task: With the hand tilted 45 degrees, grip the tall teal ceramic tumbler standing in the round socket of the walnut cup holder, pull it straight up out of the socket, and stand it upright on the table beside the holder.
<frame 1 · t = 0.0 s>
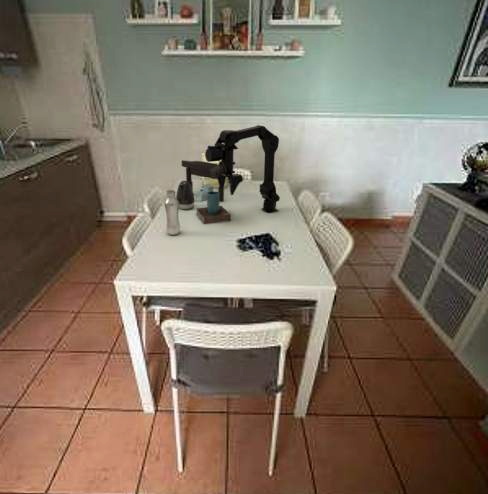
hand: (226, 192, 159), 15 cm above the table, tool pointing down, fingers open, 9 cm apart
plastic bottle: (173, 233, 151), on the table
black rounded dome: (185, 208, 181), on the table
stool: (204, 198, 196), on the table
tumbler: (213, 205, 166), in the holder
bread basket: (215, 184, 222), on the table
holder: (213, 217, 169), on the table
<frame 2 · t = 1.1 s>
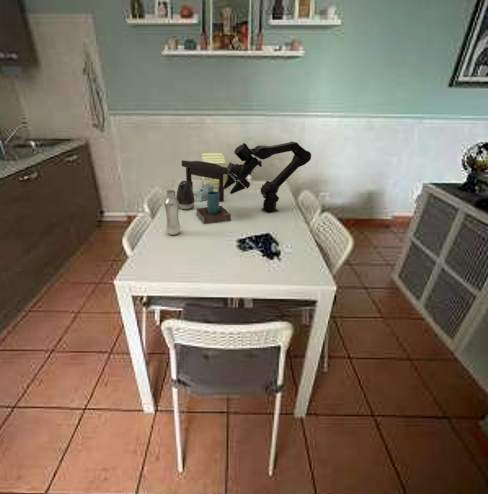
hand: (227, 191, 165), 13 cm above the table, tool tilted 45°, fingers open, 9 cm apart
nothing on the table moved.
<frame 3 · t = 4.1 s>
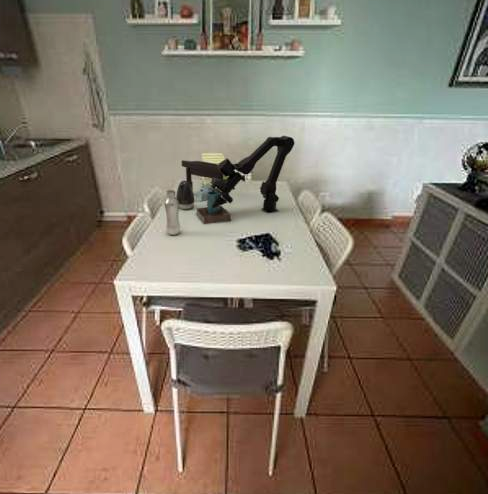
hand: (210, 205, 165), 7 cm above the table, tool tilted 45°, fingers closed on tumbler, 6 cm apart
tumbler: (213, 205, 166), in the holder, touching gripper
everything else where it was.
when the fingers open (7 cm above the table, at t = 11.4 s): tumbler stays where it is, on the table.
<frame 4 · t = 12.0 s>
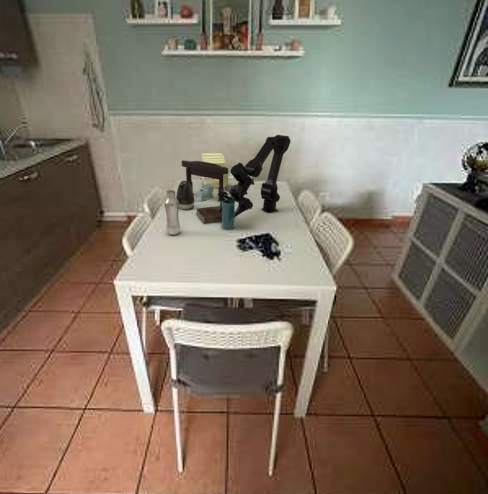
hand: (226, 214, 154), 7 cm above the table, tool tilted 45°, fingers open, 9 cm apart
tumbler: (228, 214, 155), on the table
everything else where it was.
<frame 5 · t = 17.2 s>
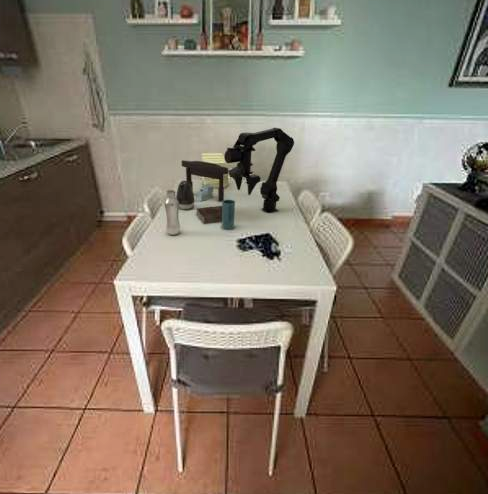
hand: (243, 192, 164), 13 cm above the table, tool pointing down, fingers open, 9 cm apart
nothing on the table moved.
at the end: tumbler inside the target area (0.0 cm from its centre), on the table; tumbler tilted 0°; the gripper is holding nothing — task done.
